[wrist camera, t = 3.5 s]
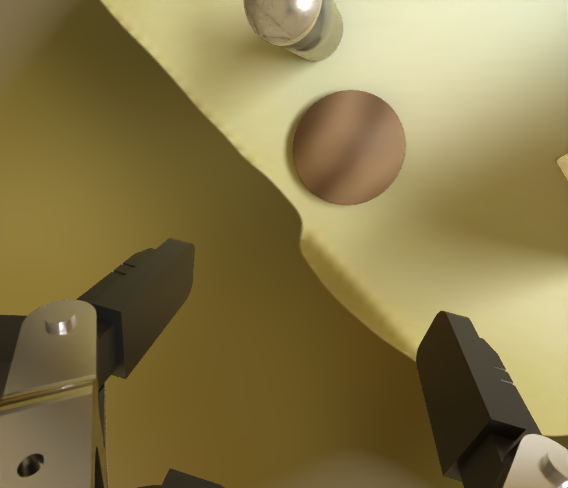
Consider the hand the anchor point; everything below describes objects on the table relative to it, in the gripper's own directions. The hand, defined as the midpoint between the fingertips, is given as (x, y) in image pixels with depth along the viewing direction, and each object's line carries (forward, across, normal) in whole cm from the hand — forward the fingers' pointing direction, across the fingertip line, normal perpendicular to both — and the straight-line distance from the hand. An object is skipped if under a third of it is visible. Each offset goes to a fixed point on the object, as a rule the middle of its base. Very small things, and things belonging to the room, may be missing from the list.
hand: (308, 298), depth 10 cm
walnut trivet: (+28, +1, 0) cm, 28 cm away
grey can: (+29, -5, +10) cm, 31 cm away
